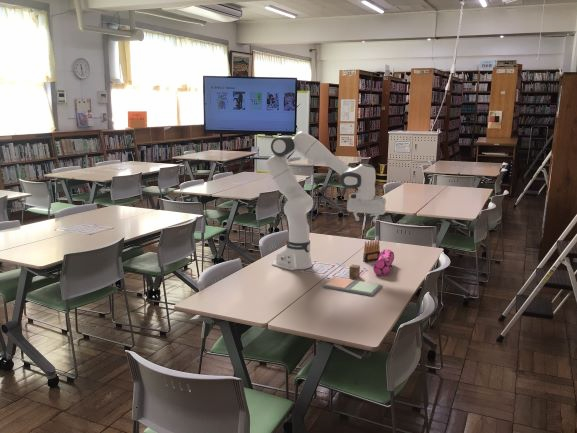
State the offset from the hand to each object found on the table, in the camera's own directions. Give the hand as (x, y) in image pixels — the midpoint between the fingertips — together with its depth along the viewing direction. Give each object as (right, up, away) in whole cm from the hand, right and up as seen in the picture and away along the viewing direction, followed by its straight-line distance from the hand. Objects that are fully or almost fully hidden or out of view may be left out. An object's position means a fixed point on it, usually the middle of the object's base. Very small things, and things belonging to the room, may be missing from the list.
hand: (365, 221), depth 255 cm
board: (-10, -32, -21) cm, 39 cm away
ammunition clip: (+7, -23, +20) cm, 31 cm away
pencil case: (+11, -26, +4) cm, 29 cm away
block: (-7, -29, -7) cm, 30 cm away
